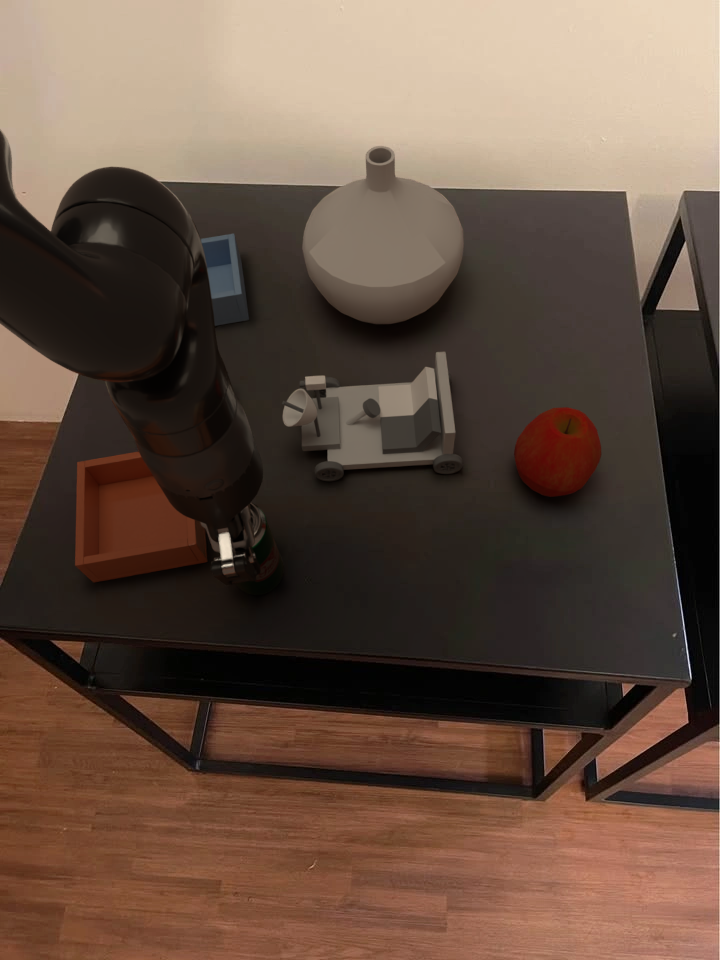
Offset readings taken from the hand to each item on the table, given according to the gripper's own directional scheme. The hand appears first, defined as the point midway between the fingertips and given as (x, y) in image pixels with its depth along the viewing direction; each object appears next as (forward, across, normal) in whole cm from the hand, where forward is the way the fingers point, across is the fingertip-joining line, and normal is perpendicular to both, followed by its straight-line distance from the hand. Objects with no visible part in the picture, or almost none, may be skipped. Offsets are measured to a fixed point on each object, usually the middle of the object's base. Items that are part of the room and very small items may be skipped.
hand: (245, 543), depth 65 cm
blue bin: (+8, -38, -3) cm, 39 cm away
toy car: (+8, -14, +14) cm, 21 cm away
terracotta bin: (+8, -8, -11) cm, 15 cm away
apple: (+8, -5, +31) cm, 32 cm away
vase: (+8, -34, +19) cm, 40 cm away
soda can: (+8, 0, 0) cm, 8 cm away
